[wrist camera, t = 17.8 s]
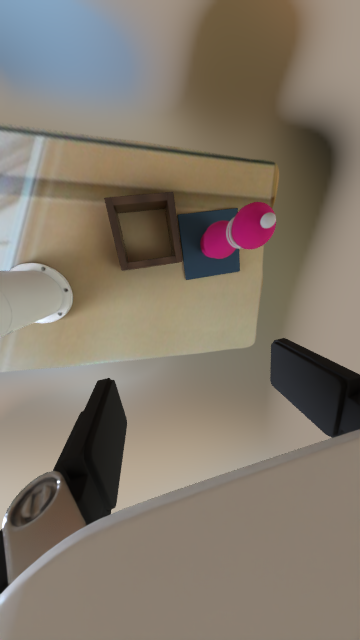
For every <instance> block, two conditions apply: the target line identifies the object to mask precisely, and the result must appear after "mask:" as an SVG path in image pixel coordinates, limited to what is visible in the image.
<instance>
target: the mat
mask: <svg viewBox="0 0 360 640" xmlns="http://www.w3.org/2000/svg"><path fill="white" fill-rule="evenodd" d="M237 213H238V208H234V209H225V210H216V211H206V212H197V213H188V214H179V215H178V222H179V230H180V238H181V245H182V253H183V261H184V269H185V276H186V280H189V279H195V278H201V277H207V276H214V275H220V274H226V273H232V272H238V271H240V263H239V249H238V248H236V249H235V251H234V252H233V253H232V254H231V255H229V256H228V257H226V258H223V259H216V258H210V257H207V256H206V255H205V254H204V253H203V252H202V250H201V246H200V242H201V238H202V236H203V234H204V233H205V232H206V230H207V229H208V227H209V226H210V225H212V224H213V223H215V222H218V221H222V220H223V221H229V222H230V220H231V219H232V218H234V217H235V216H236V214H237Z"/></svg>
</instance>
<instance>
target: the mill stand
mask: <svg viewBox="0 0 360 640" xmlns="http://www.w3.org/2000/svg"><path fill="white" fill-rule="evenodd" d="M104 199H105V203H106V207H107V212H108V216H109V220H110V224H111V228H112V232H113V237H114V241H115V245H116V249H117V253H118V257H119V262H120V266H121V270H122V271H125V270H132V269H139V268H146V267H152V266H159V265H166V264H173V263H179V262H182V256H181V248H180V240H179V233H178V225H177V218H176V210H175V202H174V195H173V192H167V193H166V192H165V193H154V194H142V195H131V196H120V197H109V198H104ZM155 209H165V210H166V217H167V224H168V231H169V237H170V244H171V251H172V257H165V258H157V259H150V260H143V261H136V262H128V257H127V253H126V249H125V244H124V240H123V235H122V231H121V226H120V222H119V217H118V213H126V212H136V211H145V210H155Z"/></svg>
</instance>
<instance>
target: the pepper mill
mask: <svg viewBox="0 0 360 640" xmlns="http://www.w3.org/2000/svg"><path fill="white" fill-rule="evenodd" d="M275 225H276V216H275V214H274V211H273V210H272V208H271V207H270V206H269V205H267V204H265V203H262V202H254V203H250V204H248V205H246V206H244V207H243V208H242V209H241V210H240V211H239V212H238V213H237V214H236V216H235V217H234V218H232V219H231V220H230V222H229V221H223V220H222V221H218V222H215V223H213V224H212V225H210V226H209V227H208V229H207V230H206V232H205V233H204V234H203V236H202V238H201V242H200V246H201V250H202V252H203V253H204V254H205V255H206V256H207V257H210V258H216V259H223V258H226V257H228V256H229V255H231V254H232V253H233V252H234V251H235V249H236V248H238V249H241V248H244V249H255V248H258V247H260V246H262V245H264V244H265V243H266V242H267V241H268V240H269V239H270V238H271V236H272V234H273V232H274V230H275Z"/></svg>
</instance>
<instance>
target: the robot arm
mask: <svg viewBox="0 0 360 640" xmlns="http://www.w3.org/2000/svg"><path fill="white" fill-rule="evenodd" d="M45 268H46V270H45ZM67 289H68V291H67ZM72 302H73V293H72V289H71V287H70V285H69V283H68V281H67V280H66V279H65V277H64V276H63V275H62V274H61V273H59V272H58V271H57V270H55V269H53V268H51V267H49V266H47V265H44V264H39V263H23V264H20V265H17V266H15V267H13V268H12V269H10V270H9V271H0V338H1V337H3V336H5V335H8V334H10V333H12V332H14V331H16V330H19V329H21V328H23V327H25V326H27V325H30V324H32V323H34V322H36V323H50V322H54V321H56V320H58V319H60V318H62V317H64V316H65V315H66V314H67V313H68V311H69V310H70V308H71V306H72ZM61 312H62V314H61ZM270 378H271V384H272V385H273V386H274V387H275V388H276V389H277V390H278V391H279V392H280V393H281V394H282V395H283V396H284V397H286V398H287V399H288V400H289V401H290V402H291V403H292V404H293V405H294V406H295V407H296V408H298V409H299V410H300V411H301V412H302V413H303V414H304V415H305V416H306V417H307V418H308V419H310V420H311V421H312V422H313V423H314V424H315V425H316V426H317V427H318V428H320V429H321V430H322V431H323V432H324V433H325V434H326V435H328V436H331V437H332V438H331V439H328V440H325V441H321V442H319V443H315V444H312V445H309V446H306V447H303V448H300V449H297V450H294V451H291V452H288V453H285V454H282V455H279V456H276V457H273V458H270V459H267V460H264V461H261V462H258V463H255V464H252V465H249V466H246V467H243V468H240V469H237V470H234V471H231V472H228V473H225V474H222V475H219V476H216V477H213V478H210V479H207V480H204V481H202V482H198V483H195V484H193V485H189V486H187V487H184V488H181V489H178V490H175V491H172V492H169V493H166V494H163V495H161V496H158V497H155V498H152V499H150V500H147V501H144V502H142V503H139V504H136V505H133V506H130V507H128V508H125V509H123V510H120V511H118V512H115V513H113V514H111V509H113V508H115V506H116V502H117V495H118V488H119V480H120V473H121V465H122V458H123V450H124V443H125V435H126V428H127V420H126V416H125V412H124V409H123V406H122V403H121V400H120V396H119V393H118V390H117V387H116V384H115V381H114V380H111V379H110V378H107V379H103V380H99V381H97V383H96V385H95V388H94V390H93V392H92V394H91V396H90V399H89V401H88V403H87V405H86V407H85V409H84V411H83V412H81V413H80V415H79V417H78V419H77V421H76V423H75V425H74V427H73V430H72V432H71V434H70V436H69V438H68V440H67V442H66V444H65V446H64V449H63V451H62V453H61V455H60V457H59V459H58V461H57V463H56V465H55V467H54V470H53V471H51V472H47V473H45V474H43V475H41V476H39V477H37V478H36V479H34V480H33V481H32V482H30V483H29V484H28V485H27V486H26V487H25V488H24V489H23V490H22V491H21V492H20V493H19V494H18V495H17V496H16V498H15V499H14V500H13V502H12V503H11V505H10V506H9V508H8V510H7V512H6V514H5V517H4V519H3V527H2V529H1V531H0V640H360V375H359V374H357V373H355V372H353V371H351V370H349V369H347V368H345V367H343V366H341V365H339V364H337V363H335V362H333V361H330V360H329V359H327V358H324V357H322V356H320V355H318V354H316V353H314V352H312V351H310V350H308V349H306V348H304V347H302V346H300V345H298V344H296V343H294V342H292V341H290V340H288V339H285V338H282V339H278V340H274V342H273V343H272V345H271V377H270Z"/></svg>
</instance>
